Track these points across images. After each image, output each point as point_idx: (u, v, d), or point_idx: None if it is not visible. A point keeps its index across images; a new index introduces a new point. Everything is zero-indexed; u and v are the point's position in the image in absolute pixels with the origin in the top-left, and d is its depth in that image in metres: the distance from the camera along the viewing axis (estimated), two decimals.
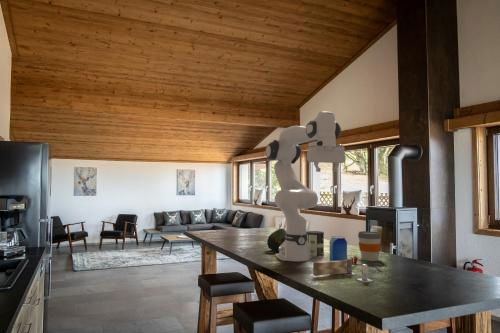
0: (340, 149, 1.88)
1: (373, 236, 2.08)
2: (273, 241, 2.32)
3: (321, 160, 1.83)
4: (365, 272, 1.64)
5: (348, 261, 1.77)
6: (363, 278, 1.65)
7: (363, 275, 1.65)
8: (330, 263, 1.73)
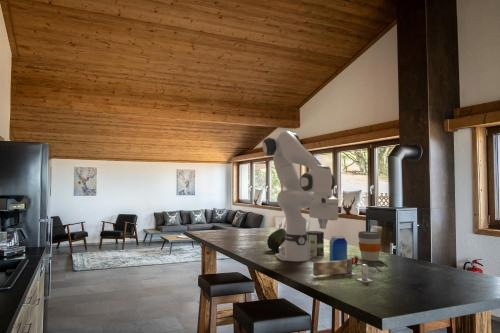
0: None
1: (373, 236, 2.08)
2: (273, 241, 2.32)
3: None
4: (365, 272, 1.64)
5: (348, 261, 1.77)
6: (363, 278, 1.65)
7: (363, 275, 1.65)
8: (330, 263, 1.73)
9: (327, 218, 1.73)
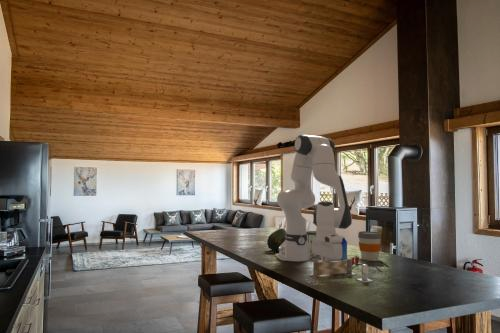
0: None
1: (373, 236, 2.08)
2: (273, 241, 2.32)
3: None
4: (365, 272, 1.64)
5: (348, 261, 1.77)
6: (363, 278, 1.65)
7: (363, 275, 1.65)
8: (330, 263, 1.73)
9: (331, 257, 1.69)
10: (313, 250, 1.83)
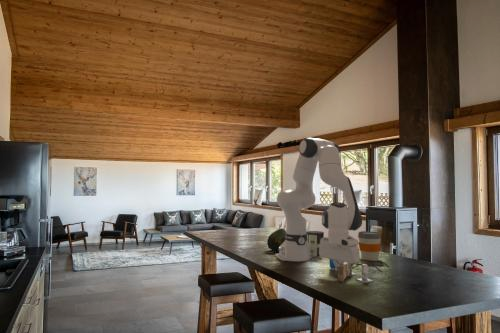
0: None
1: (373, 235, 2.08)
2: (273, 241, 2.32)
3: None
4: (365, 272, 1.64)
5: None
6: (363, 278, 1.65)
7: (363, 275, 1.65)
8: (345, 266, 1.68)
9: (348, 261, 1.63)
10: (322, 253, 1.75)
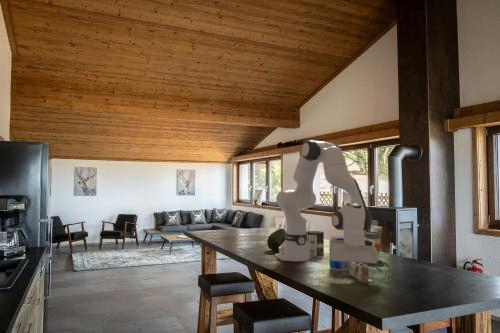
0: None
1: (373, 236, 2.08)
2: (273, 241, 2.32)
3: None
4: None
5: None
6: None
7: None
8: None
9: (370, 261, 1.64)
10: (335, 257, 1.67)
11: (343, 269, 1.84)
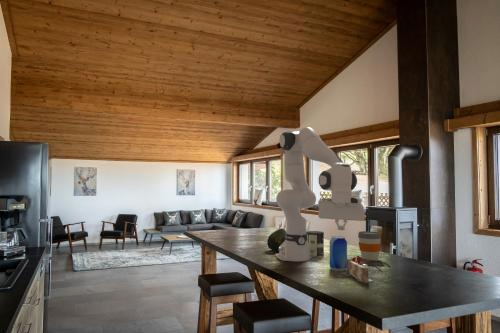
0: None
1: (373, 236, 2.08)
2: (273, 241, 2.32)
3: None
4: None
5: (351, 261, 1.77)
6: None
7: None
8: None
9: (356, 219, 1.66)
10: (322, 214, 1.71)
11: (343, 269, 1.84)
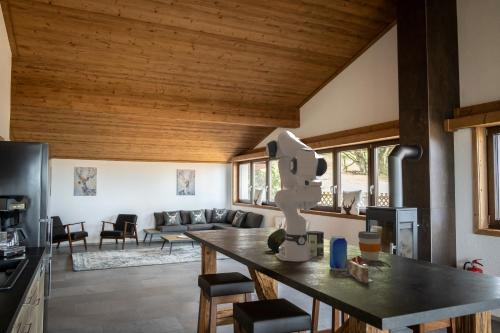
0: None
1: (373, 236, 2.08)
2: (273, 241, 2.32)
3: None
4: None
5: (351, 261, 1.77)
6: None
7: None
8: None
9: (310, 200, 1.73)
10: (295, 197, 1.87)
11: (343, 269, 1.84)
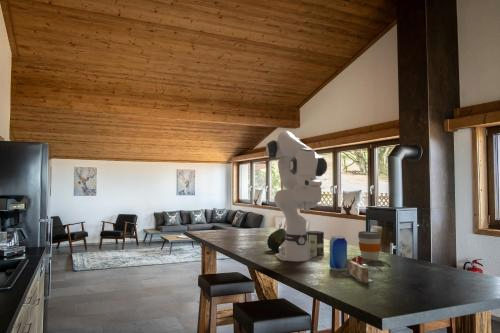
0: None
1: (373, 235, 2.08)
2: (273, 241, 2.32)
3: None
4: None
5: (351, 261, 1.77)
6: None
7: None
8: None
9: (310, 200, 1.73)
10: (295, 197, 1.87)
11: (343, 269, 1.84)
